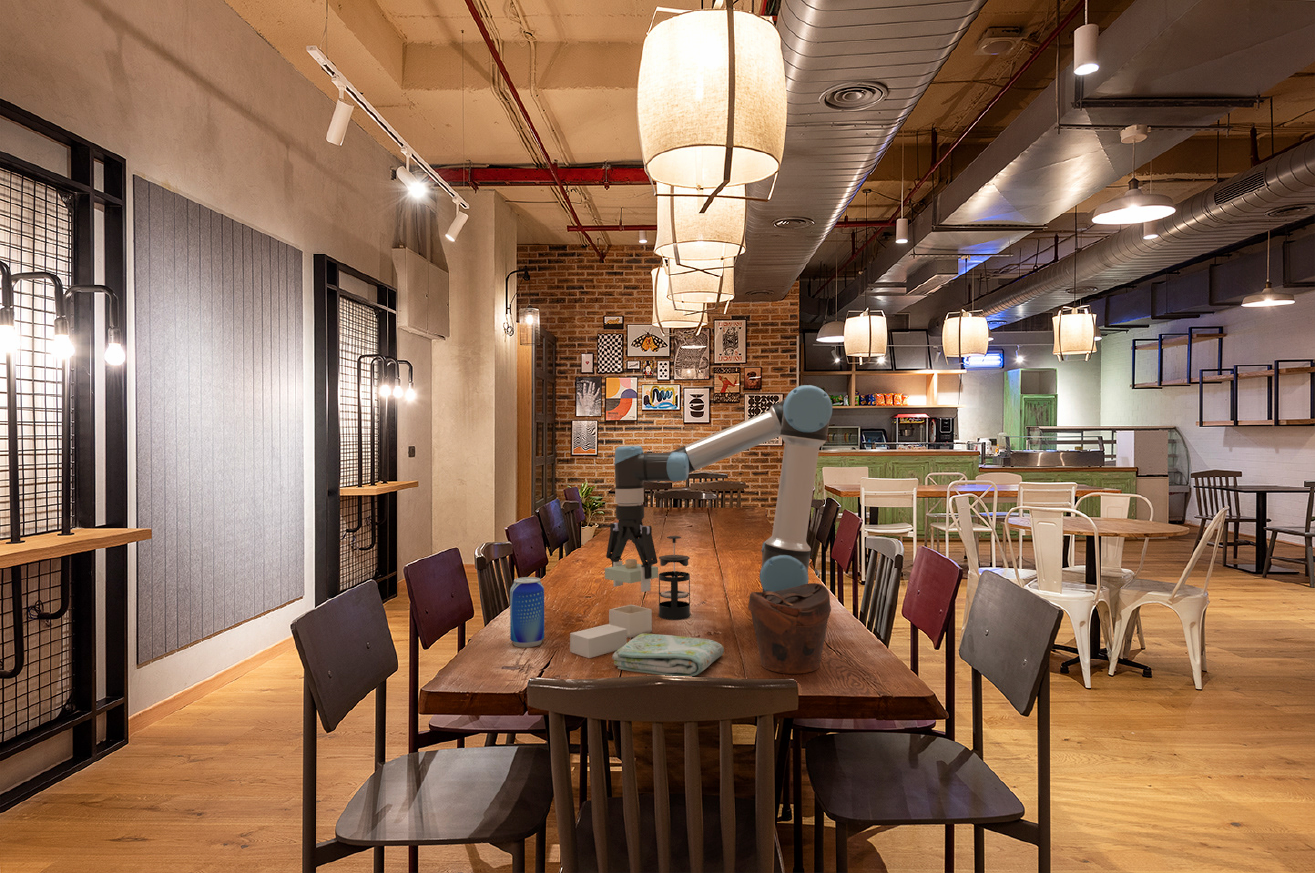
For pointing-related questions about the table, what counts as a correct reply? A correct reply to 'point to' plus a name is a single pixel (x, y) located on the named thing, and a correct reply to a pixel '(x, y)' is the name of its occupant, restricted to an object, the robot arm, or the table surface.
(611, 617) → the open white box
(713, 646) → the towel
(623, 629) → the block
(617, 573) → the lid
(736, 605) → the table surface
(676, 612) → the french press
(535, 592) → the beer can
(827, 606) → the brown tapered bucket
